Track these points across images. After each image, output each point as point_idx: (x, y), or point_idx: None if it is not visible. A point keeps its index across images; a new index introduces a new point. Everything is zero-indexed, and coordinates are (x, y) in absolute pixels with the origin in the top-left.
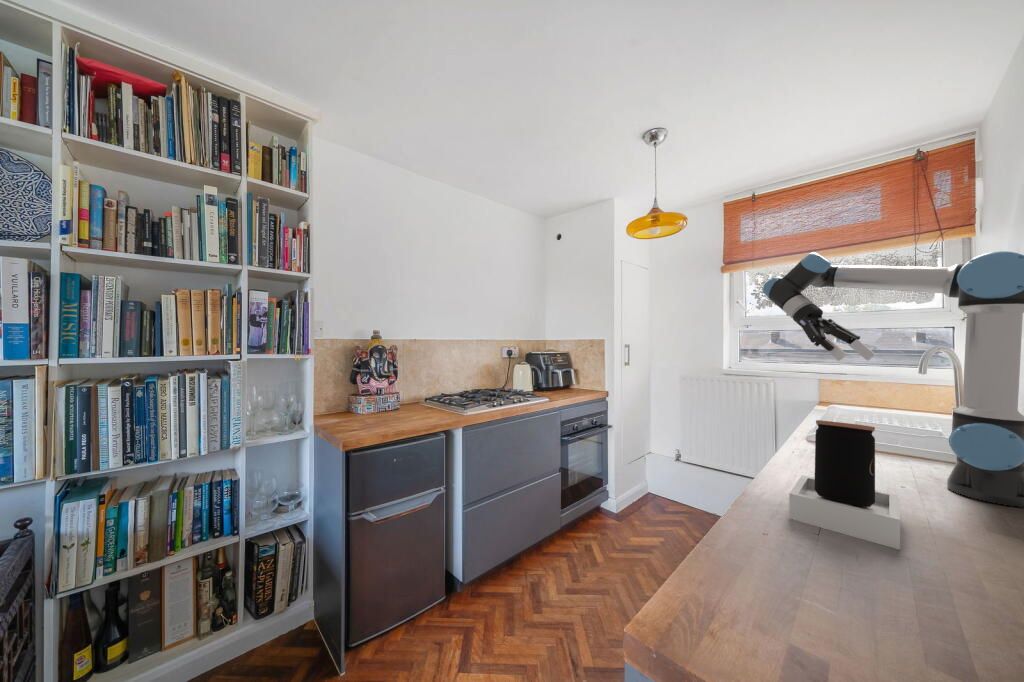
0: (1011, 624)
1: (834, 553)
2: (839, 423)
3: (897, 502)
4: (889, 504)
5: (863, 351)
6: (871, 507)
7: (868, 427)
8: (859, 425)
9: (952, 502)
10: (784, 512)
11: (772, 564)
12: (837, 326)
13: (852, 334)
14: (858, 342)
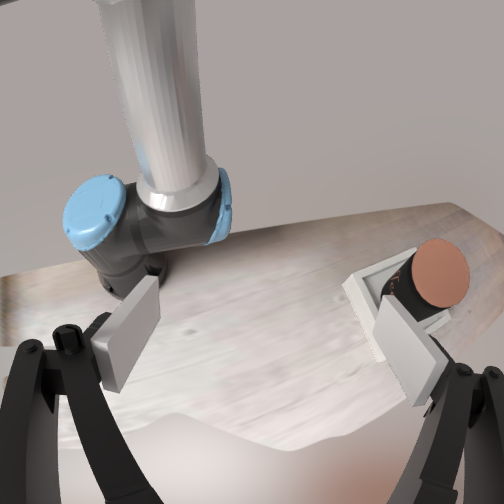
0: (423, 206)
1: None
2: (465, 261)
3: (377, 264)
4: (390, 265)
5: (144, 320)
6: (381, 287)
7: (442, 240)
8: (452, 244)
9: (206, 280)
10: None
11: (485, 281)
12: (31, 492)
13: (37, 375)
14: (119, 333)
